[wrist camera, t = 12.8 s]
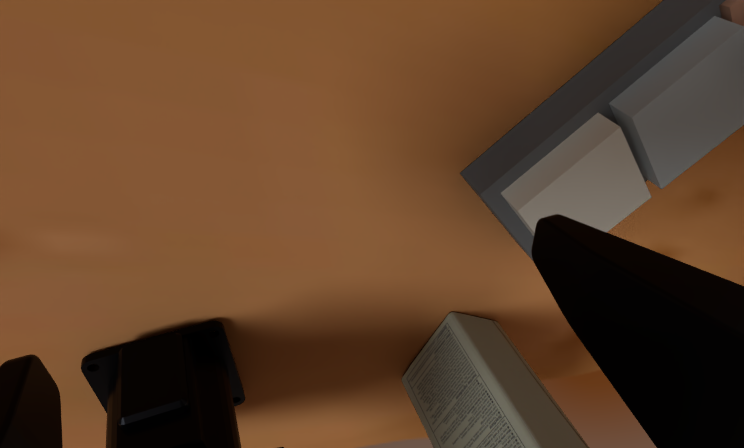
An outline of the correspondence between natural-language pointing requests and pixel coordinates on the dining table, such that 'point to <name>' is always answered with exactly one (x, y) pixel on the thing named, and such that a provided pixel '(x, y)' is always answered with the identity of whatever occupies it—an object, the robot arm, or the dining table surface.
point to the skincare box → (483, 391)
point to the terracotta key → (733, 11)
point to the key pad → (581, 102)
